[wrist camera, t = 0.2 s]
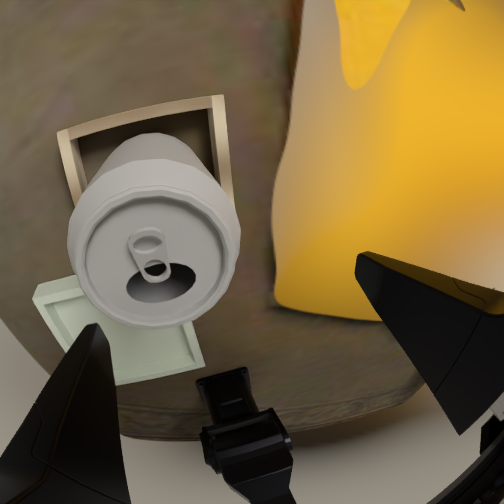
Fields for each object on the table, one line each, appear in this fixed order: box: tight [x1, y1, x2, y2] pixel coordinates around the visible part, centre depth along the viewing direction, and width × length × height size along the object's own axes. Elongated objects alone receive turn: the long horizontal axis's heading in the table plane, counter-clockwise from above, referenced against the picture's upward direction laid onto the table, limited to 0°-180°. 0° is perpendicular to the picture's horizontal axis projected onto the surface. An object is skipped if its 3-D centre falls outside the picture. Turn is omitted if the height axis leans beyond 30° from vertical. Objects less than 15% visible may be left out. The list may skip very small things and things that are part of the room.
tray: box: [32, 275, 205, 386], centre depth 24 cm, size 13×13×2 cm
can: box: [67, 133, 241, 330], centre depth 15 cm, size 8×8×12 cm
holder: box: [57, 94, 235, 208], centre depth 19 cm, size 11×11×2 cm
